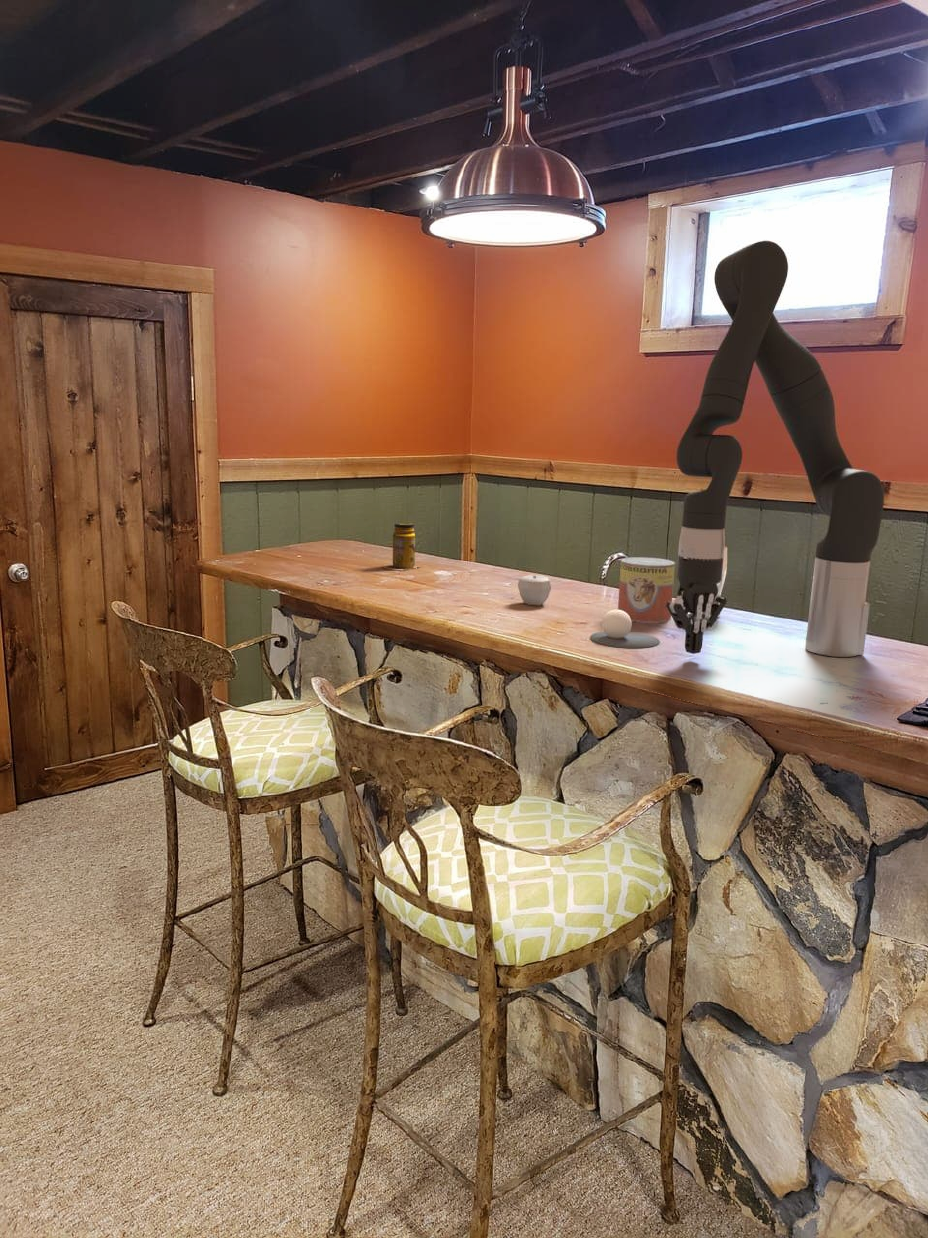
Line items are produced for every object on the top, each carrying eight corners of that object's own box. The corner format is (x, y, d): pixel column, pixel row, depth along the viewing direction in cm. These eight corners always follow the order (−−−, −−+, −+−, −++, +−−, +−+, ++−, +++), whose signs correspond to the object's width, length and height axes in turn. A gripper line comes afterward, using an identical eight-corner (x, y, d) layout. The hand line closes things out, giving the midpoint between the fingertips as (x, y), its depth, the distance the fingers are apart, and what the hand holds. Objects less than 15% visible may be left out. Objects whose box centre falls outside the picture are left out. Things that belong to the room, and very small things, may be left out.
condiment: (421, 568, 249) (422, 524, 246) (397, 571, 243) (398, 526, 240) (404, 564, 254) (404, 521, 251) (380, 567, 248) (380, 523, 245)
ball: (637, 634, 175) (620, 612, 178) (637, 621, 170) (620, 599, 173) (612, 648, 174) (596, 626, 177) (612, 636, 170) (595, 614, 172)
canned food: (612, 619, 191) (616, 562, 188) (622, 609, 201) (625, 555, 198) (667, 625, 187) (671, 567, 184) (674, 614, 197) (678, 559, 195)
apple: (510, 601, 207) (511, 572, 205) (541, 599, 209) (543, 571, 208) (524, 608, 199) (526, 579, 198) (557, 606, 202) (558, 577, 201)
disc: (649, 632, 180) (649, 631, 180) (667, 648, 167) (667, 647, 167) (584, 631, 179) (584, 630, 179) (597, 648, 167) (597, 646, 167)
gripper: (710, 548, 162) (702, 643, 166) (657, 553, 155) (649, 652, 159) (744, 554, 156) (735, 652, 160) (690, 559, 149) (682, 662, 153)
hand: (692, 652), depth 159 cm, fingers closed
